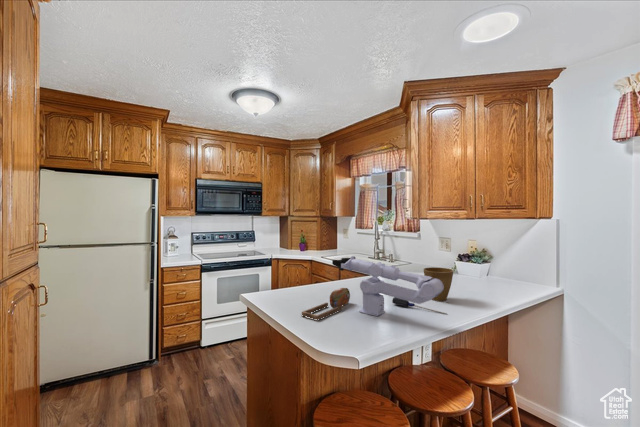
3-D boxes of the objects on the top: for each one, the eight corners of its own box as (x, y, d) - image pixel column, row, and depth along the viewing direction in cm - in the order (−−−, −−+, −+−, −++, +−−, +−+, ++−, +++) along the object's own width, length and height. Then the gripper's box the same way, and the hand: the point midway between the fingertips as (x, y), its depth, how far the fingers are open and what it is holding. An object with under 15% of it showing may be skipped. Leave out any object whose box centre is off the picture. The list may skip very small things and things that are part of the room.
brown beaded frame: (341, 310, 140) (341, 306, 140) (317, 321, 126) (317, 316, 126) (326, 306, 146) (326, 302, 146) (301, 316, 132) (301, 311, 132)
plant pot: (447, 295, 166) (448, 267, 166) (457, 304, 151) (457, 272, 151) (420, 295, 167) (420, 266, 167) (427, 303, 153) (427, 271, 153)
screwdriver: (448, 313, 137) (448, 305, 137) (446, 316, 134) (447, 307, 134) (393, 303, 151) (393, 296, 151) (391, 305, 148) (391, 298, 148)
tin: (333, 310, 140) (333, 292, 140) (328, 309, 142) (328, 291, 142) (350, 303, 152) (350, 286, 152) (345, 302, 154) (345, 285, 154)
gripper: (368, 256, 147) (345, 251, 156) (352, 259, 136) (329, 254, 145) (367, 270, 148) (345, 265, 156) (351, 274, 136) (328, 269, 145)
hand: (337, 261), depth 150 cm, fingers open, 7 cm apart
